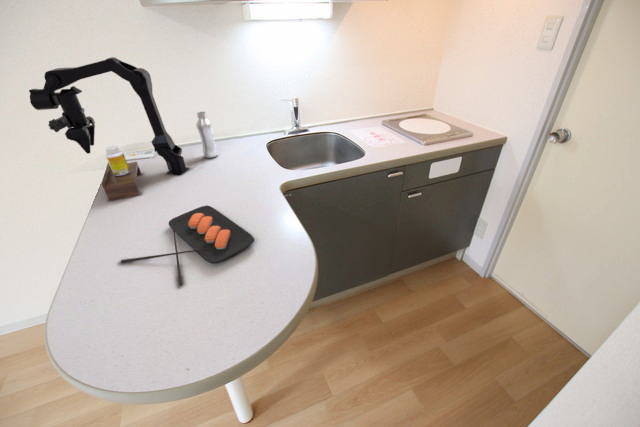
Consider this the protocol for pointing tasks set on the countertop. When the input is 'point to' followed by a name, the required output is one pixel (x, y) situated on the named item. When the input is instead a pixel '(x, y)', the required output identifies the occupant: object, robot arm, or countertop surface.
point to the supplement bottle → (117, 161)
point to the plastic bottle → (206, 135)
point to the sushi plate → (207, 236)
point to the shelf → (121, 183)
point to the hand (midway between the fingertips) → (90, 149)
